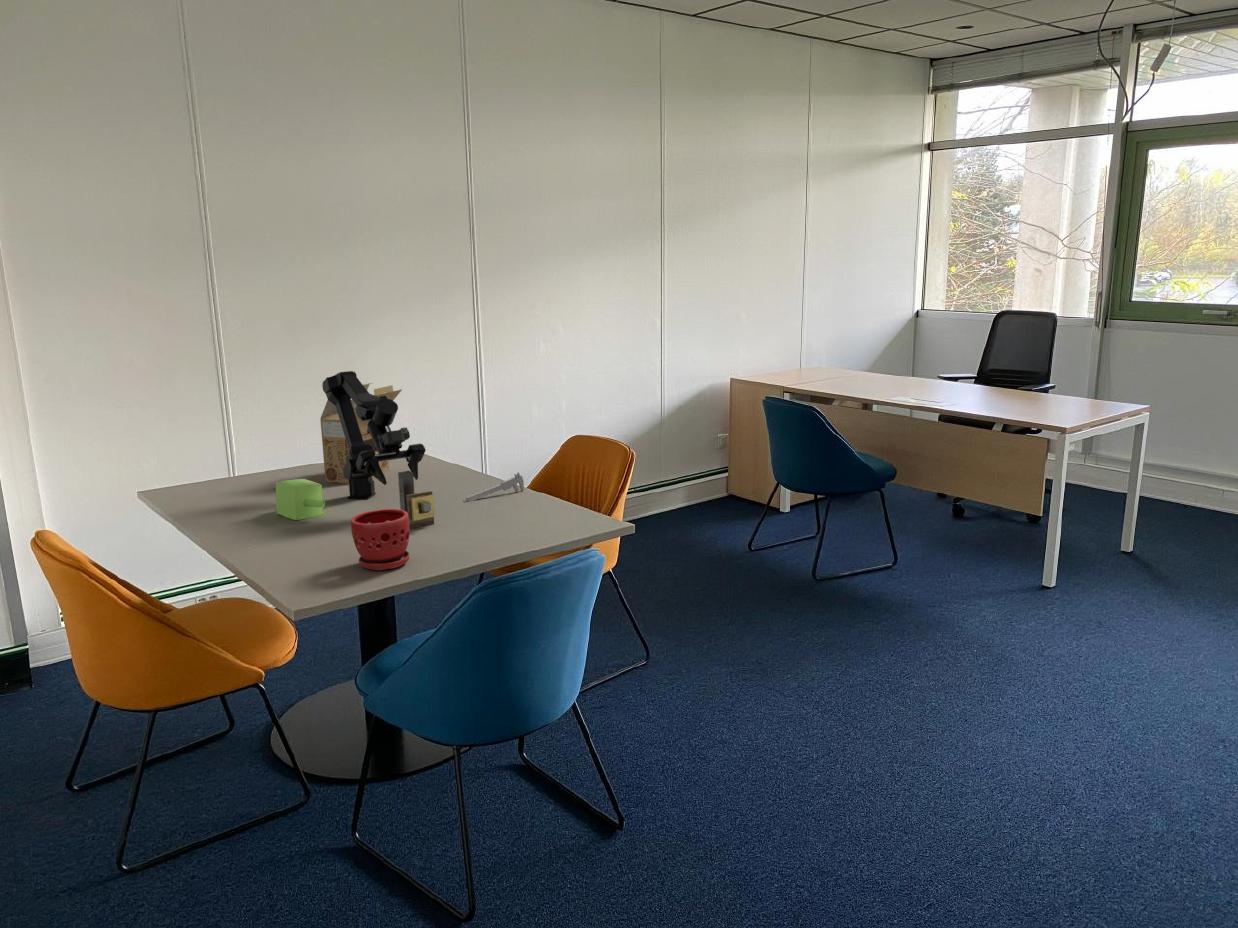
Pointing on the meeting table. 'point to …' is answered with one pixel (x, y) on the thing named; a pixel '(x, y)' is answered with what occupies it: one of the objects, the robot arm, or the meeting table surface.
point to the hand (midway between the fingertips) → (401, 481)
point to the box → (336, 440)
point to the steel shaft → (409, 491)
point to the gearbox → (299, 499)
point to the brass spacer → (415, 508)
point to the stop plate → (422, 521)
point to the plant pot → (381, 538)
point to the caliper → (500, 488)
